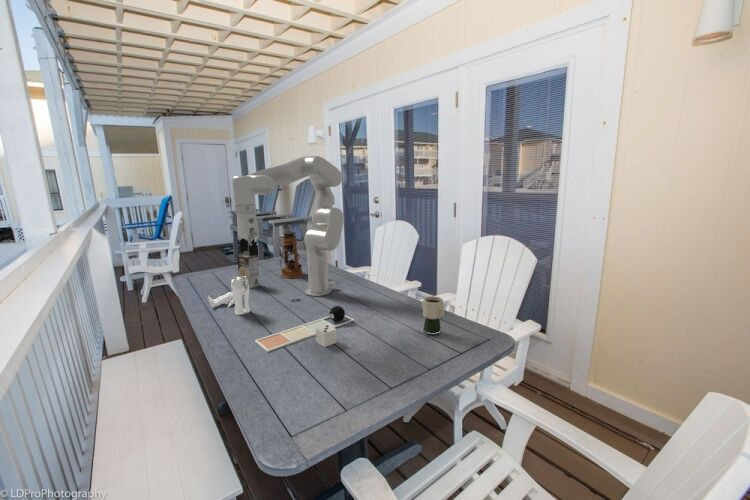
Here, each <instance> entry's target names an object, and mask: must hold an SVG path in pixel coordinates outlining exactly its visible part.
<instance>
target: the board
mask: <svg viewBox="0 0 750 500" xmlns="http://www.w3.org/2000/svg"><path fill="white" fill-rule="evenodd" d="M345 317H347V318H349V319H351V320H349V319H348V321H344V322H342V323H340V324H336V325H334V324H332V323H331V322H329V321H327V320H329V319H331V318H330V315H329V316H325V317H322V318H319V319H316V320H313V321H310V322H306V323H304V324H300V325H299V326H294V327H292V328H289V329H286V330H282V331H280V332H277V333H273V334H271V335H268V336H264V337H261V338H258V339H255V340H254V343H255V344H256V345H258V346H259V347H260V348H261V349H263V350H264V351H265V352H266V353H269V352H273V351H275V350H278V349H280V348H283V347H286V346H289V345H292V344H294V343H295V344H296V343H298V342H300V341H303V340H305V339H309V338H312V337H314V336H316V328H319V327H322V326H325V325H330V326H332V327H333V328H335V329H337V328H339V327H342V326H344V325H343V324H345V325H347V324H346V323H348V322H351V321H353V320H354V321H355V319H354V318H352V317H349V316H348V315H346V314H345ZM345 317H344V318H345ZM328 318H329V319H328ZM347 318H346V319H347ZM325 319H326V320H325ZM354 321H353V322H354ZM351 323H352V322H351ZM348 324H349V323H348ZM341 325H342V326H341ZM338 326H339V327H338ZM336 327H337V328H336Z"/></svg>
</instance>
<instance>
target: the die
mask: <svg viewBox="0 0 750 500" xmlns="http://www.w3.org/2000/svg"><path fill="white" fill-rule="evenodd" d="M315 336H316V337H315V341H316V342H315V343H317V344H319V345H320V346H322V347H323V348H326V347H328V346H331V345H333V344H336V342H337V328H333V327H332V326H330V325H325V326H322V327H319V328H316V335H315Z"/></svg>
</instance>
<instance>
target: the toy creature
mask: <svg viewBox="0 0 750 500" xmlns="http://www.w3.org/2000/svg"><path fill="white" fill-rule="evenodd" d="M207 299H208V301H209V304H210V307H211V308H212V309H215V308H216V307H218V306H220V305H223V304H224V305H227V308H229V307H231V306H232V305H235V302H234V299H233V295H232V291H230V292H227V293H225V294H224V295H221V296H218V297H217V298H215V299H213V298H212V297H210V295H207Z"/></svg>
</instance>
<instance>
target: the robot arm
mask: <svg viewBox="0 0 750 500" xmlns="http://www.w3.org/2000/svg"><path fill="white" fill-rule="evenodd" d="M306 177H309V182H310V183H311V185H312V186H313V189H314V191H315V192H314V193H315V202H314V207H313V211H312V217H311V221H312V223H313V224H314V225H315V226H318V227H322V228H323V227H324V228H326V229H322V228H310V229H308V230H307V231H306V232H305V235H304V237H303V238H304V245H305V249H306V255H307V256H306V257H307V277H308V278H307V279H308V281H307V282H308V283H307V284H308V285H307V286H308V287H307V288H306V289H305V294H306V295H308V296H310V297H314V296H315V297H321V296H326V295H329V294H331V293H332V288H331V287H333V286H337V282H336V281H329V276H328V275H329V274H328V272H329V270H328V269H329V267H328V255H327V252H326V251H335V250H336V249H337V248H338V246H339V244H340V241H341V237H342V233H343V228H344V223H345V222H344V221H345V217H344V213H343V211H342V210H341V209H340V208H337V207H333V205H334V193H333V191H332V189H331V188H337V187H339V186H340V185H341V183H342V181H343V175H342V172H341V171H340V169H339V168H338V167H336V166H335V165H334V164H332V163H331V162H330V161H328V160H326V158H324V157H321V156H320V155H307V156H300V157H298V158H296V159H292V160H290V161H288V162H285V163H282V164H278V165H274V166H272V167H268V168H264V169H261V170H257V171H254V172H252V173H250V174H247V175H235V176H233V177H232V182H231V183H232V191H233V192H232V193H233V204H234V214H236V227H237V235H238V236H237V237H238V241H239V251H240V252H247V251H248V254H249V255H250V256H258V255H259V247H258V245H259V244H258V241H259V238H260V234H259V225H258V219H257V207H256V195H258V196H259V195H260V196H267V195H271V194H273V192H274V191H275V189H276V186H286V185H290V184H293V183H295V182H297V181H300V180H302V179H304V178H306ZM330 292H331V293H330Z"/></svg>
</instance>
